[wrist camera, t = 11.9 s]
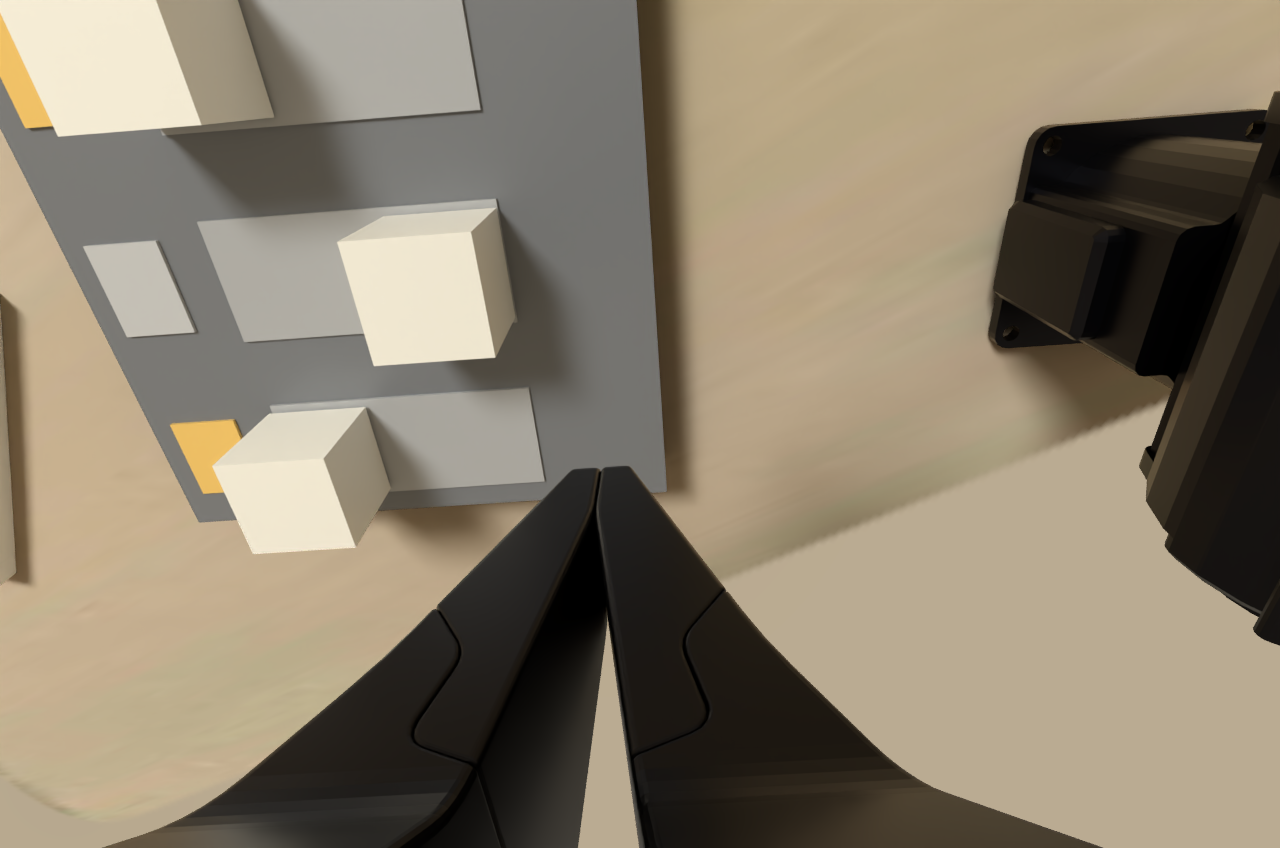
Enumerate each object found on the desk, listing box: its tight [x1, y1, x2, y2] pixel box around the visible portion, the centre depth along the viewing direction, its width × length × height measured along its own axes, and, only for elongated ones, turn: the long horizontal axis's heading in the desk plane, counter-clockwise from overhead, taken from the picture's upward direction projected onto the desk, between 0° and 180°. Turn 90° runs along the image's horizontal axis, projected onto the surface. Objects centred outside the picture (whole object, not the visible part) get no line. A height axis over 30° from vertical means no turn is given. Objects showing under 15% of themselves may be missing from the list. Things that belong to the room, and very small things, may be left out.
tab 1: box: [0, 0, 274, 137], centre depth 14 cm, size 3×3×3 cm
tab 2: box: [212, 407, 391, 554], centre depth 19 cm, size 3×3×3 cm
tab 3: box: [337, 208, 515, 366], centre depth 16 cm, size 3×3×3 cm
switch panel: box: [0, 0, 667, 522], centre depth 18 cm, size 16×16×2 cm
